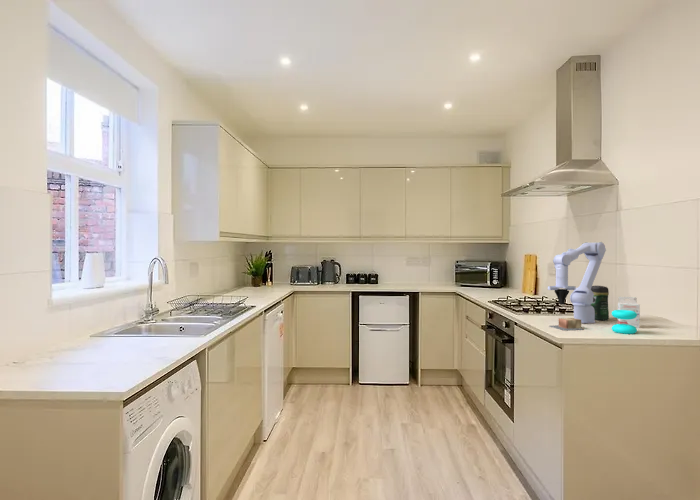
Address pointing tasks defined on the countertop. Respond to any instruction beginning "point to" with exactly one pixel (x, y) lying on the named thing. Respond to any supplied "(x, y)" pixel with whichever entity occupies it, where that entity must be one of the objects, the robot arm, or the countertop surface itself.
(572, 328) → the rubber mat
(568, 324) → the oak block
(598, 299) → the coffee jar
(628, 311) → the donuts
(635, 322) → the ink cartridge box
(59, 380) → the countertop surface
